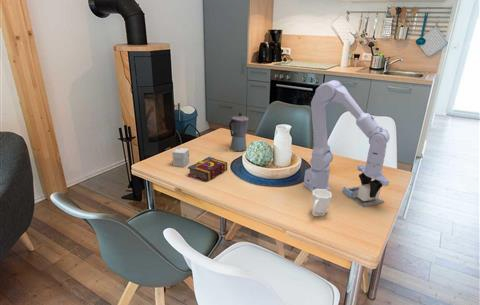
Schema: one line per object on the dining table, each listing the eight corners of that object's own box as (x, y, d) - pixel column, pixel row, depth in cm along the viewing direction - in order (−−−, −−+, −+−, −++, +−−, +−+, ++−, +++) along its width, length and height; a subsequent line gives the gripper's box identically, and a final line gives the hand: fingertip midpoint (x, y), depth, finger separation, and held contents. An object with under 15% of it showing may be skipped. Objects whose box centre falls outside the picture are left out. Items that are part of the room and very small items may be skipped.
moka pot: (252, 147, 178) (254, 111, 171) (238, 155, 166) (238, 118, 159) (238, 143, 183) (238, 109, 176) (223, 151, 171) (222, 115, 164)
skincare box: (184, 167, 152) (183, 153, 149) (172, 166, 153) (171, 151, 150) (189, 162, 157) (189, 148, 154) (178, 161, 159) (177, 147, 156)
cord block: (363, 201, 121) (366, 189, 119) (357, 196, 124) (359, 185, 123) (378, 198, 124) (381, 186, 122) (372, 194, 127) (374, 182, 125)
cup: (332, 211, 118) (335, 192, 115) (322, 224, 110) (324, 203, 107) (314, 205, 121) (316, 186, 118) (303, 217, 114) (305, 197, 111)
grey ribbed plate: (362, 208, 120) (364, 201, 119) (341, 192, 131) (342, 185, 130) (384, 203, 123) (385, 196, 122) (361, 188, 134) (362, 182, 133)
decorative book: (228, 170, 150) (228, 161, 148) (206, 183, 137) (205, 173, 135) (209, 165, 155) (208, 155, 154) (186, 177, 143) (185, 166, 141)
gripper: (398, 168, 113) (391, 201, 119) (369, 153, 126) (364, 184, 131) (382, 171, 111) (375, 204, 116) (355, 155, 124) (350, 186, 129)
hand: (368, 194), depth 123 cm, fingers closed on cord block, 4 cm apart
